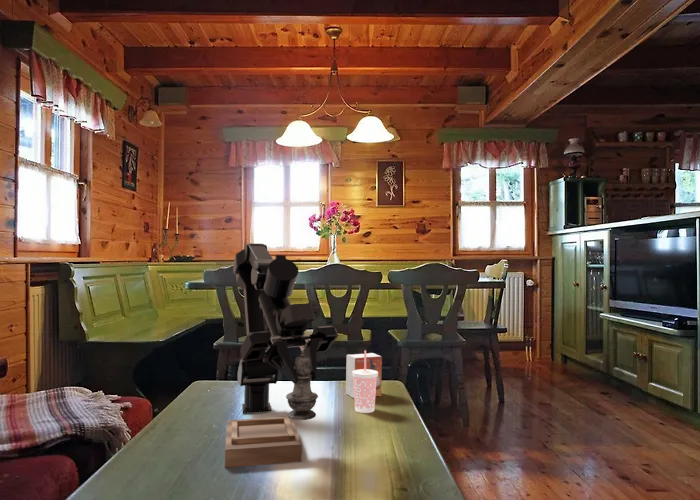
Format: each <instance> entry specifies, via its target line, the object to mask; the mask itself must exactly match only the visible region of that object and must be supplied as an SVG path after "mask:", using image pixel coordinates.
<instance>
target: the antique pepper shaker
mask: <svg viewBox="0 0 700 500" xmlns="http://www.w3.org/2000/svg"><path fill="white" fill-rule="evenodd" d="M301 353H302V354H301ZM304 353H305V352H304V351H303V350H302V351H301V352H300V354H301V355H300V354H299V355H297V356H296V357H295V359H294V368H295V371H296V374H297V377H298V382H297V383H296V384H294V383H293V389H292V392H289V393H287V394H286V396H285V397H286V400H287V404H288V406H289V407H290V408H291V409H292V410H291V411H289V412H288V413H287V416H286V417H289V418H290V419H293V421H294V420H295V421H308V420H311V419H315V418H316V416H317V413H316V412H315V411H313V410H312V409H313V408H314V407H315V405H316V403H317V399H318V398H319V395H318V393H316V392H313V391H312V387H311V380H312V379H311V377H312V374H310V358H309V357H308V356H306V355H304Z"/></svg>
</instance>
